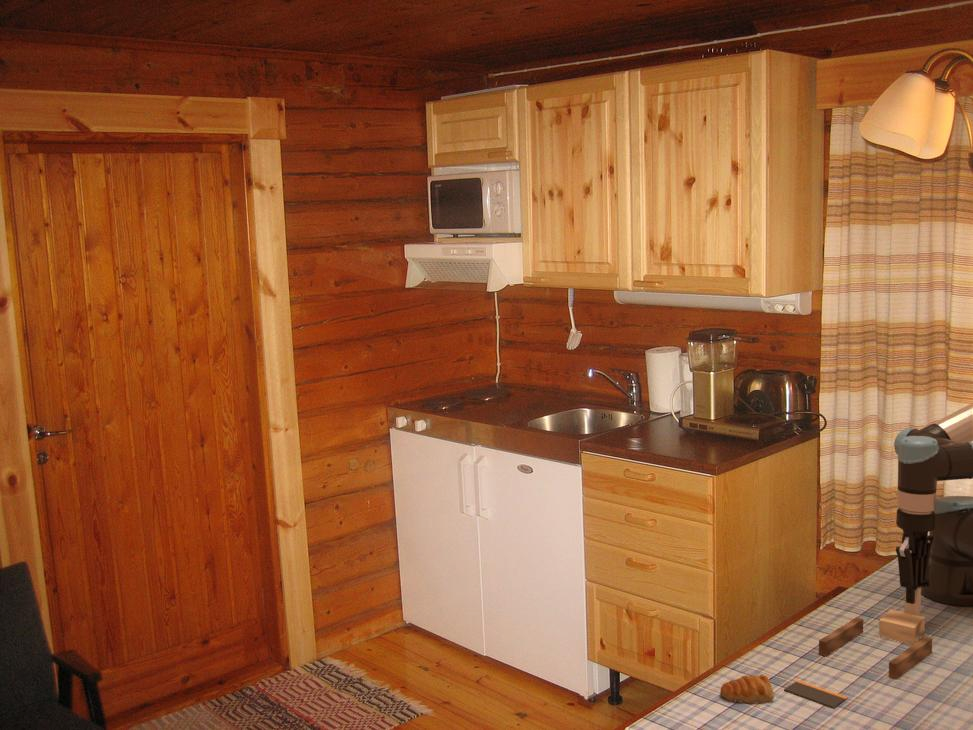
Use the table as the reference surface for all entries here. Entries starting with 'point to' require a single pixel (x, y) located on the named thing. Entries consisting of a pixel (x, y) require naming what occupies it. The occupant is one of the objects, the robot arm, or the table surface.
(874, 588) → the table surface
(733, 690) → the pastry
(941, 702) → the table surface
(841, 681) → the table surface
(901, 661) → the lane
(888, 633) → the block
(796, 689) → the pad
